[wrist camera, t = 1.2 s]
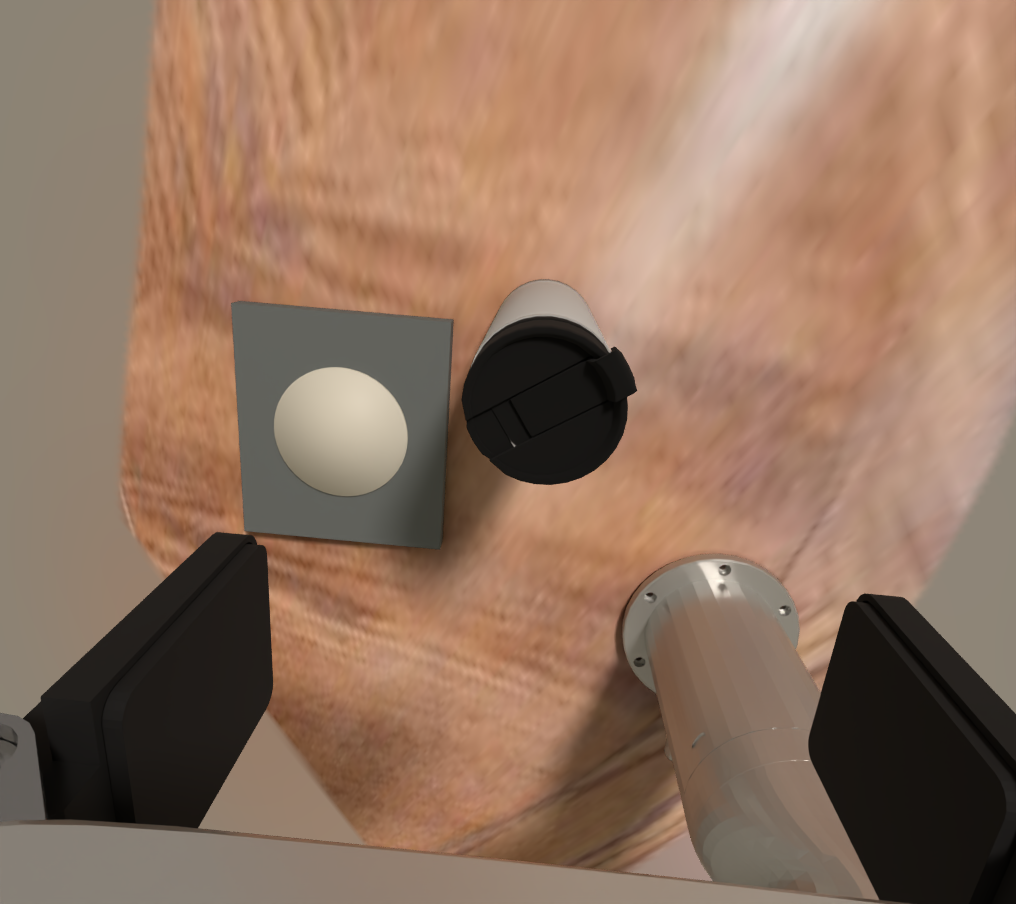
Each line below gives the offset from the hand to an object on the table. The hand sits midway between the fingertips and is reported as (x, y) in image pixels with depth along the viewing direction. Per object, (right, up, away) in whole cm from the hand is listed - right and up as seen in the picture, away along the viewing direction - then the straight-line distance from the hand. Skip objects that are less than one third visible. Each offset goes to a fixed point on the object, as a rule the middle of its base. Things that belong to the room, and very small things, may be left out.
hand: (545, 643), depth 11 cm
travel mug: (+2, +11, +32) cm, 34 cm away
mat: (-12, +5, +35) cm, 37 cm away
